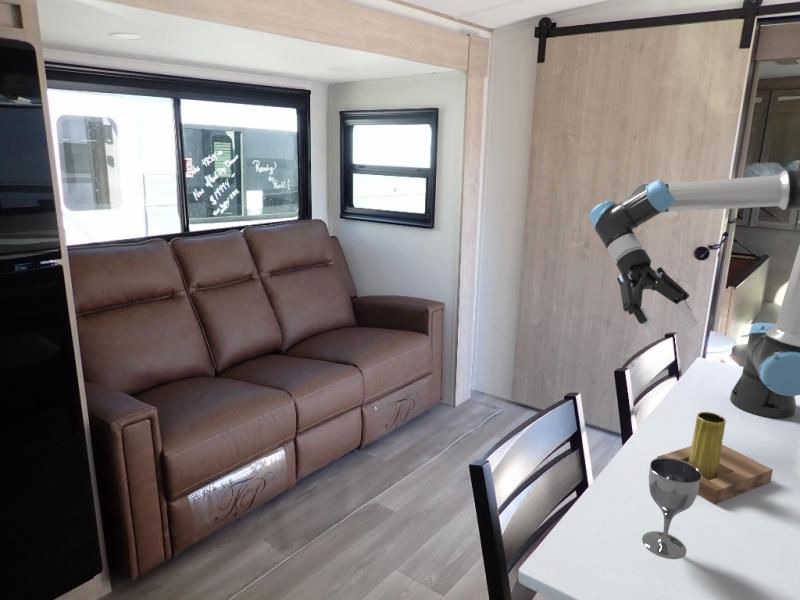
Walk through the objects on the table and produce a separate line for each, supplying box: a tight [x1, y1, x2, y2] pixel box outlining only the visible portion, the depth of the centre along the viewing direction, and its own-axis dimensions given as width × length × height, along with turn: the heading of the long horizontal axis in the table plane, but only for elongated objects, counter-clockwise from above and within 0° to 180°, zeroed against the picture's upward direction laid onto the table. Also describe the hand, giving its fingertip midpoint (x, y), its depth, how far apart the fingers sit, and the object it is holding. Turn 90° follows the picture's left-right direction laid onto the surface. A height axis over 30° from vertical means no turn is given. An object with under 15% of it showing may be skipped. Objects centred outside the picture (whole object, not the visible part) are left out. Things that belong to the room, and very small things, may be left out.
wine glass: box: [641, 457, 701, 560], centre depth 99 cm, size 8×8×15 cm
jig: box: [656, 444, 774, 505], centre depth 123 cm, size 18×14×3 cm
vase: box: [689, 411, 727, 480], centre depth 120 cm, size 6×6×14 cm
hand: (674, 330), depth 134 cm, fingers open, 13 cm apart
